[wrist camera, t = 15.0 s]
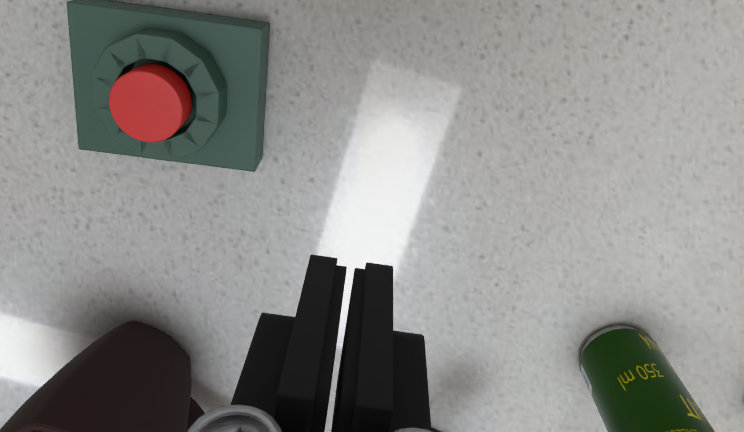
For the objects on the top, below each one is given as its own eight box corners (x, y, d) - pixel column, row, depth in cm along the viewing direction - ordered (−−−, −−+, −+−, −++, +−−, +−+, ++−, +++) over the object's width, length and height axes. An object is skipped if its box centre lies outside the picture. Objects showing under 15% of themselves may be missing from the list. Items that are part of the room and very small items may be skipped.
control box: (94, 137, 36) (62, 160, 32) (85, -4, 32) (48, 5, 29) (262, 159, 36) (249, 184, 33) (270, 22, 33) (256, 34, 29)
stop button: (123, 127, 32) (110, 137, 30) (120, 59, 30) (106, 66, 29) (192, 136, 32) (182, 147, 30) (192, 68, 30) (182, 76, 29)
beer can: (598, 394, 44) (670, 547, 33) (562, 346, 42) (625, 491, 31) (667, 359, 42) (765, 507, 32) (632, 308, 41) (724, 446, 30)
